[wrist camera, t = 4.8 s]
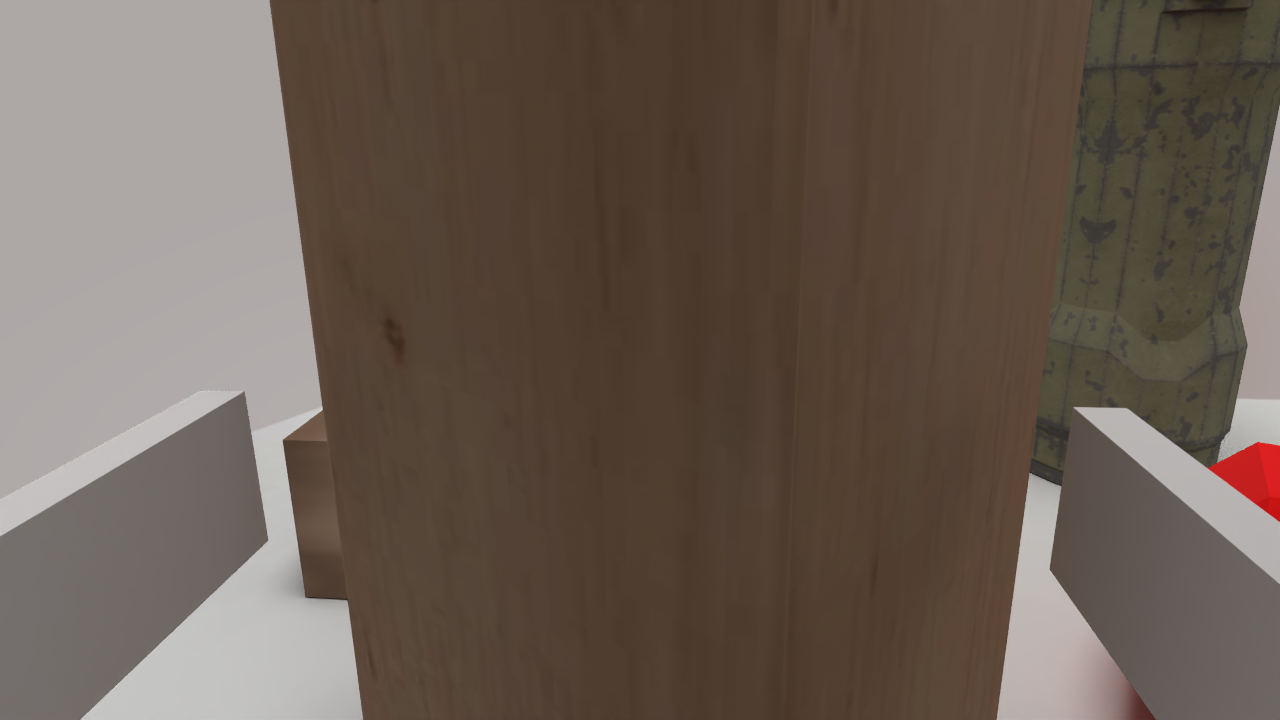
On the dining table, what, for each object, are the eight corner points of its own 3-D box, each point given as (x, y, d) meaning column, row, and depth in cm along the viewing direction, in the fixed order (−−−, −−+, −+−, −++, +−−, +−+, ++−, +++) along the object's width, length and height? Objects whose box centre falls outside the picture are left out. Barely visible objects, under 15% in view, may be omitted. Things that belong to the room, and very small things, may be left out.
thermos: (1160, 422, 45) (1301, -366, 35) (1272, 526, 34) (1528, -587, 24) (985, 412, 46) (1071, -340, 36) (1037, 508, 35) (1181, -536, 25)
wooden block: (374, 876, 19) (241, -121, 13) (660, 662, 26) (656, -43, 20) (739, 1265, 12) (796, -354, 7) (986, 838, 20) (1117, -119, 14)
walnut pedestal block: (688, 460, 41) (689, 342, 39) (670, 614, 28) (670, 450, 27) (430, 452, 42) (420, 337, 40) (305, 596, 30) (282, 440, 28)
